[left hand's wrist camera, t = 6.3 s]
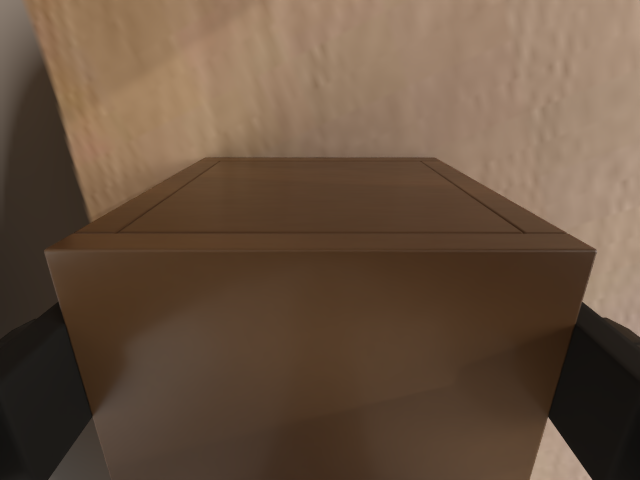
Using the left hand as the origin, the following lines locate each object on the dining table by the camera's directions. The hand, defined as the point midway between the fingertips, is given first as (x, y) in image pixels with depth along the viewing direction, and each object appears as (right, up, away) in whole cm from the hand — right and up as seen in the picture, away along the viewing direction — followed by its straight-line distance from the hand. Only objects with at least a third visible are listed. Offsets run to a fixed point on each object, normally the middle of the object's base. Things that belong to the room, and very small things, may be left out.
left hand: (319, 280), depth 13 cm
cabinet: (0, -3, +8) cm, 9 cm away
